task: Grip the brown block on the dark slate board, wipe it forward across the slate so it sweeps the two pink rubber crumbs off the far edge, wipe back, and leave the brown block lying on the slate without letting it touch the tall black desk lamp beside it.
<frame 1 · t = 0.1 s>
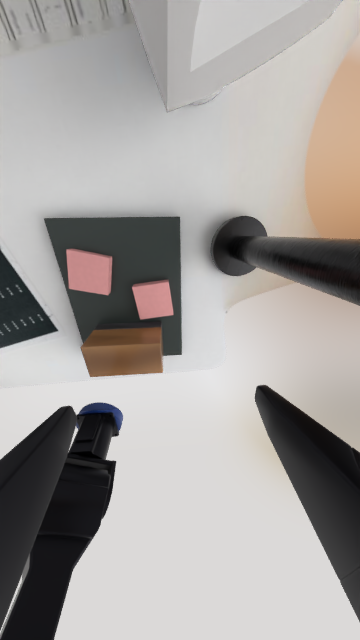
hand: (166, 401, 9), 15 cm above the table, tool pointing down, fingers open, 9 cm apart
light fixture: (196, 53, 14), on the table
brown block: (132, 336, 23), point 1 cm above the table, touching slate
crumb a: (154, 298, 21), point 1 cm above the table, touching slate
slate: (128, 297, 22), on the table
crumb b: (92, 271, 19), point 1 cm above the table, touching slate
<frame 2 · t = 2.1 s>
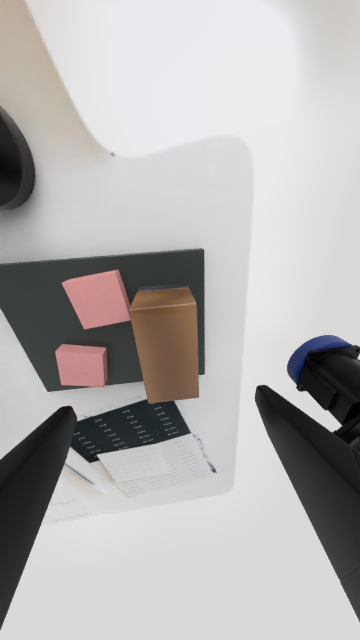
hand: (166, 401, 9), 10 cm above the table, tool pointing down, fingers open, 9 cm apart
brown block: (167, 326, 16), point 1 cm above the table, touching slate
crumb a: (103, 297, 15), point 1 cm above the table, touching slate
slate: (116, 326, 17), on the table
crumb b: (86, 362, 17), point 1 cm above the table, touching slate
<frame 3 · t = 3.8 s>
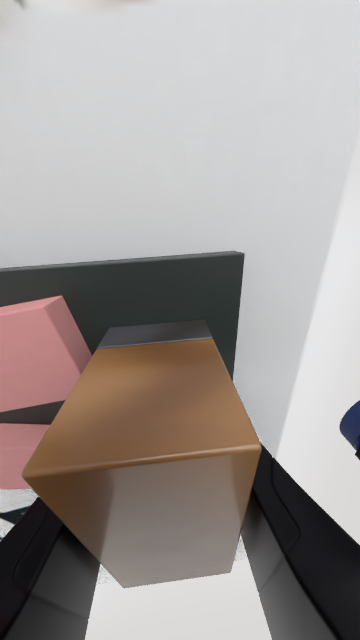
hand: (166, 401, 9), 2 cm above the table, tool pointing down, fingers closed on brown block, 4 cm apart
brown block: (166, 391, 9), point 1 cm above the table, touching gripper, slate
crumb a: (38, 348, 7), point 1 cm above the table, touching slate
slate: (77, 386, 10), on the table
crumb b: (26, 445, 10), point 1 cm above the table, touching slate
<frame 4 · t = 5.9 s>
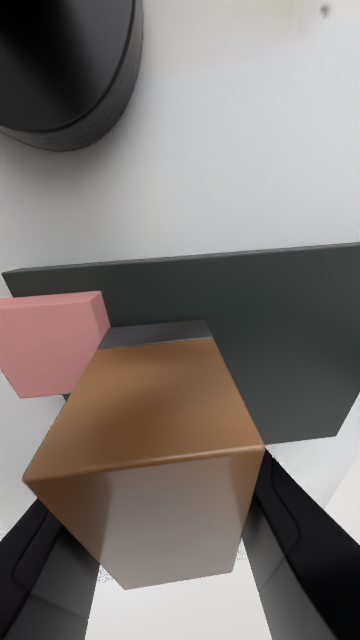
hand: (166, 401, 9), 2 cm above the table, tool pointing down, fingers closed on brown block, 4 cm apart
brown block: (166, 391, 9), point 1 cm above the table, touching crumb b, gripper
crumb a: (66, 338, 8), point 1 cm above the table
slate: (219, 369, 10), on the table
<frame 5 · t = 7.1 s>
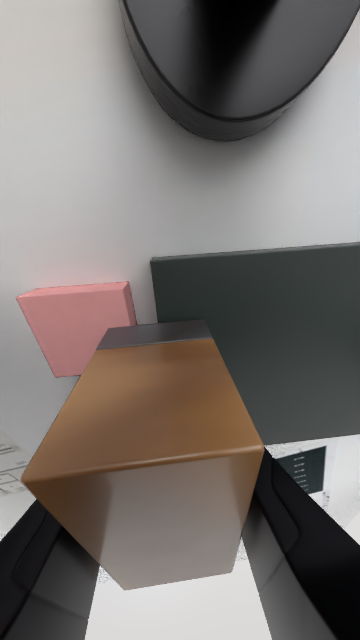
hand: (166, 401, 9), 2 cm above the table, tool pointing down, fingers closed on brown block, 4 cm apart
brown block: (166, 391, 9), point 1 cm above the table, touching gripper
crumb a: (95, 325, 9), on the table
slate: (307, 360, 10), on the table
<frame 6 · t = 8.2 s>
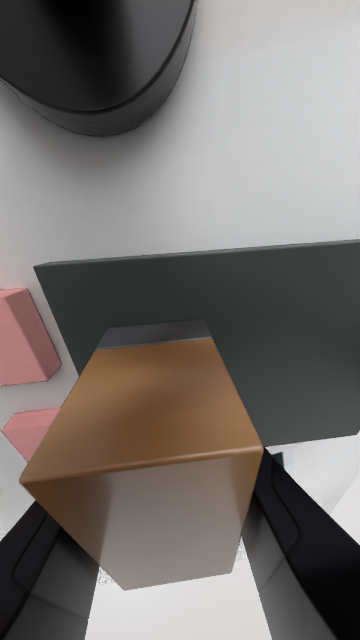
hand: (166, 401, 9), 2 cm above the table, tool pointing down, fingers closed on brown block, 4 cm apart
brown block: (165, 391, 9), point 1 cm above the table, touching gripper
crumb a: (1, 334, 8), on the table
slate: (244, 367, 10), on the table
crumb b: (63, 427, 11), on the table
when the fingers open (2 cm above the table, at t = 9.4 s): brown block stays where it is, resting on slate.
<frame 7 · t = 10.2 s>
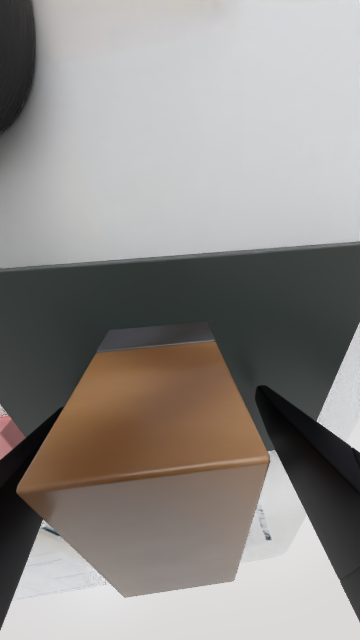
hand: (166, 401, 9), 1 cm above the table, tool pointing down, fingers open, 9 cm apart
brown block: (167, 394, 9), point 1 cm above the table, touching slate
slate: (175, 378, 10), on the table
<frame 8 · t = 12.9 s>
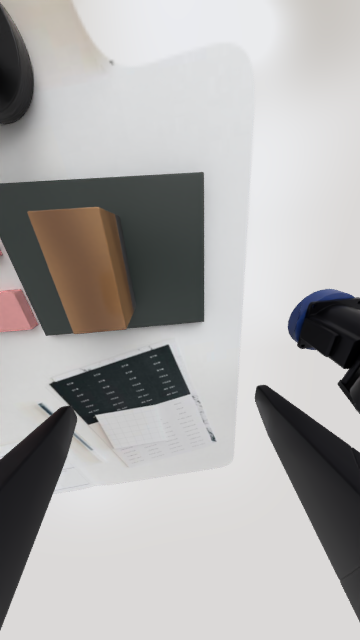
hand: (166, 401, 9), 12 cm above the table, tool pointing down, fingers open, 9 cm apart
brown block: (107, 267, 16), point 1 cm above the table, touching slate
slate: (115, 265, 17), on the table
crumb b: (11, 309, 18), on the table
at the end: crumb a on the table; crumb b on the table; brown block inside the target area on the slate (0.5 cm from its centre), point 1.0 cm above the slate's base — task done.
